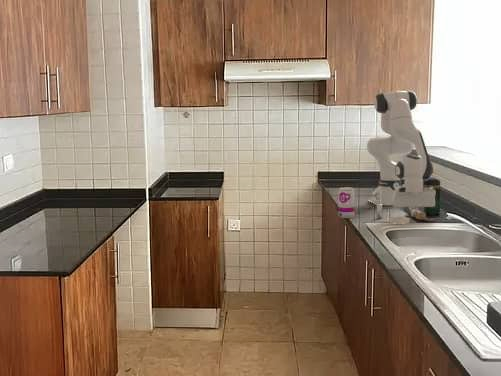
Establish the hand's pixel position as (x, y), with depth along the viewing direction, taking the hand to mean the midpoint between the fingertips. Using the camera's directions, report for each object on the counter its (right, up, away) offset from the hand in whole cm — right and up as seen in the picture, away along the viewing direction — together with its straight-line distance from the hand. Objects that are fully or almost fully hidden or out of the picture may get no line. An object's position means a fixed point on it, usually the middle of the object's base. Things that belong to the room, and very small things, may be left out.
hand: (413, 215), depth 284 cm
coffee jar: (+13, 0, +14) cm, 19 cm away
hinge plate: (+4, -1, +4) cm, 6 cm away
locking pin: (-15, -2, +6) cm, 17 cm away
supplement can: (-31, -1, +13) cm, 33 cm away
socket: (-9, -3, -9) cm, 13 cm away
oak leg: (+2, 0, +4) cm, 4 cm away
